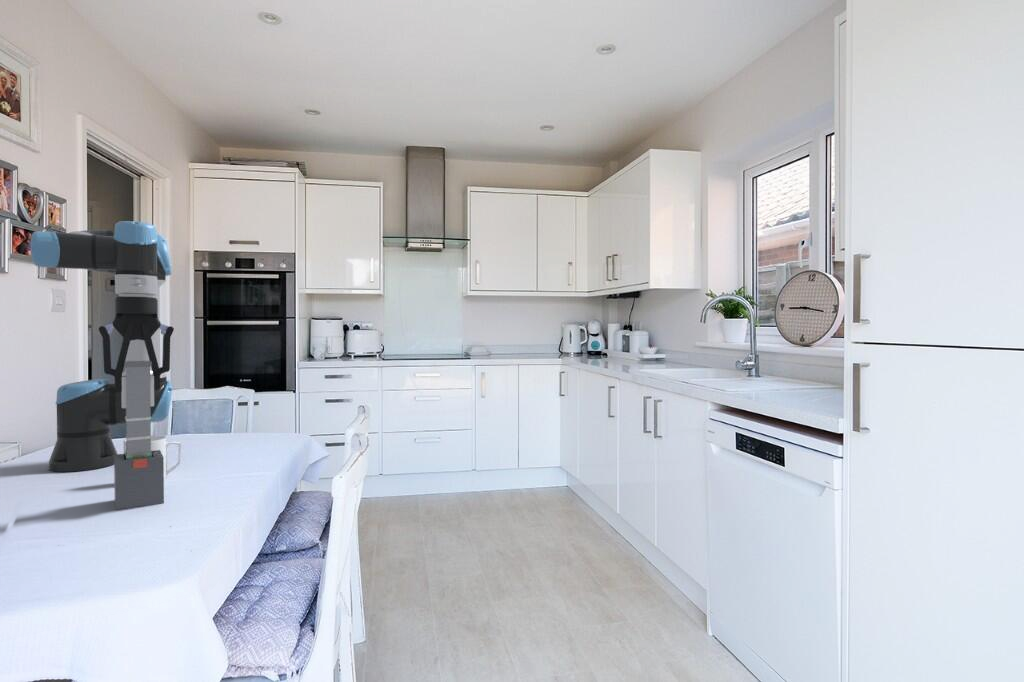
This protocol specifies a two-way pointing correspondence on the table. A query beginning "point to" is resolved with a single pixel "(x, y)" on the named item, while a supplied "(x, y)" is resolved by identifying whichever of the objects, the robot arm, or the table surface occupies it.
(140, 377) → the column
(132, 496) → the stand
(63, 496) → the table surface
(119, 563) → the table surface
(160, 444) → the mug
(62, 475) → the table surface
